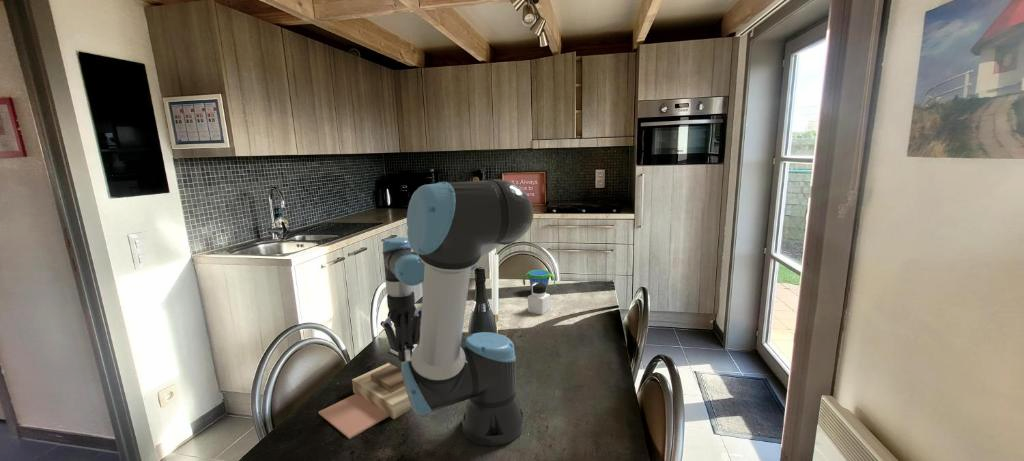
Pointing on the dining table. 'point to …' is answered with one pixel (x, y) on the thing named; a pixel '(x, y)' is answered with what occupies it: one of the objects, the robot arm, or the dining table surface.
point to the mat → (353, 415)
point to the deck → (382, 395)
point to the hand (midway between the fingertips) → (406, 369)
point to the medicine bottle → (539, 299)
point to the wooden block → (388, 378)
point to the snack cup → (539, 277)
